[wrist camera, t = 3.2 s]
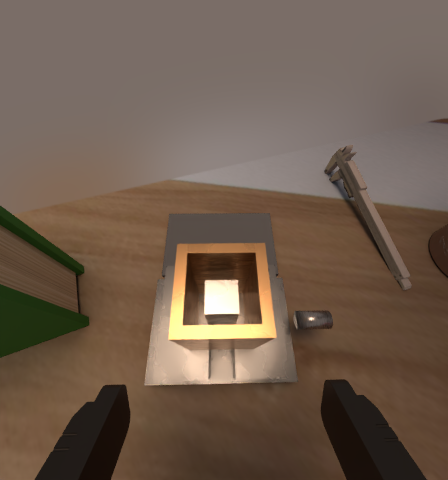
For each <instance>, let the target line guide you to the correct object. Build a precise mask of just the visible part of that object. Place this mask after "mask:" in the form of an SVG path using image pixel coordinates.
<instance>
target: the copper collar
mask: <svg viewBox="0 0 448 480" xmlns="http://www.w3.org/2000/svg"><path fill="white" fill-rule="evenodd" d="M205 280H238V293H243V303H244V320H245V325H198V309H199V294H205ZM275 338H277V337H276V329H275V321H274V313H273V304H272V296H271V288H270V280H269V272H268V263H267V255H266V247H265V243H206V244H177V252H176V263H175V274H174V284H173V295H172V306H171V316H170V327H169V338H168V340H170V341H172V342H174V343H176V344H178V345H180V346H182V347H184V348H186V349H188V350H228V349H255V348H257V347H259V346H261V345H263V344H265V343H267V342H269V341H271V340H273V339H275Z"/></svg>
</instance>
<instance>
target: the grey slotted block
mask: <svg viewBox="0 0 448 480" xmlns="http://www.w3.org/2000/svg"><path fill="white" fill-rule="evenodd" d="M268 272H269V280H270V288H271V296H272V304H273V313H274V321H275V329H276V337H277V338H275V339H273V340H271V341H269V342H267V343H265V344H263V345H261V346H259V347H257V348H255V349H228V350H188V349H186V348H184V347H182V346H180V345H178V344H176V343H174V342H172V341H170V340H168V338H169V327H170V316H171V306H172V295H173V284H174V274H175V266H166V272H165V279H158V284H157V292H156V299H155V307H154V315H153V322H152V330H151V338H150V346H149V353H148V361H147V369H146V376H145V384H144V385H181V384H225V383H269V382H298V379H297V372H296V365H295V359H294V352H293V346H292V339H291V332H290V326H289V319H288V312H287V306H286V299H285V293H284V286H283V279H282V278H276V272H275V265H268ZM294 324H295V327H296V329H331V328H332V326H333V320H332V316H331V313H330V312H329V311H295V312H294ZM198 325H245V320H244V303H243V293H238V280H205V294H199V309H198Z"/></svg>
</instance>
